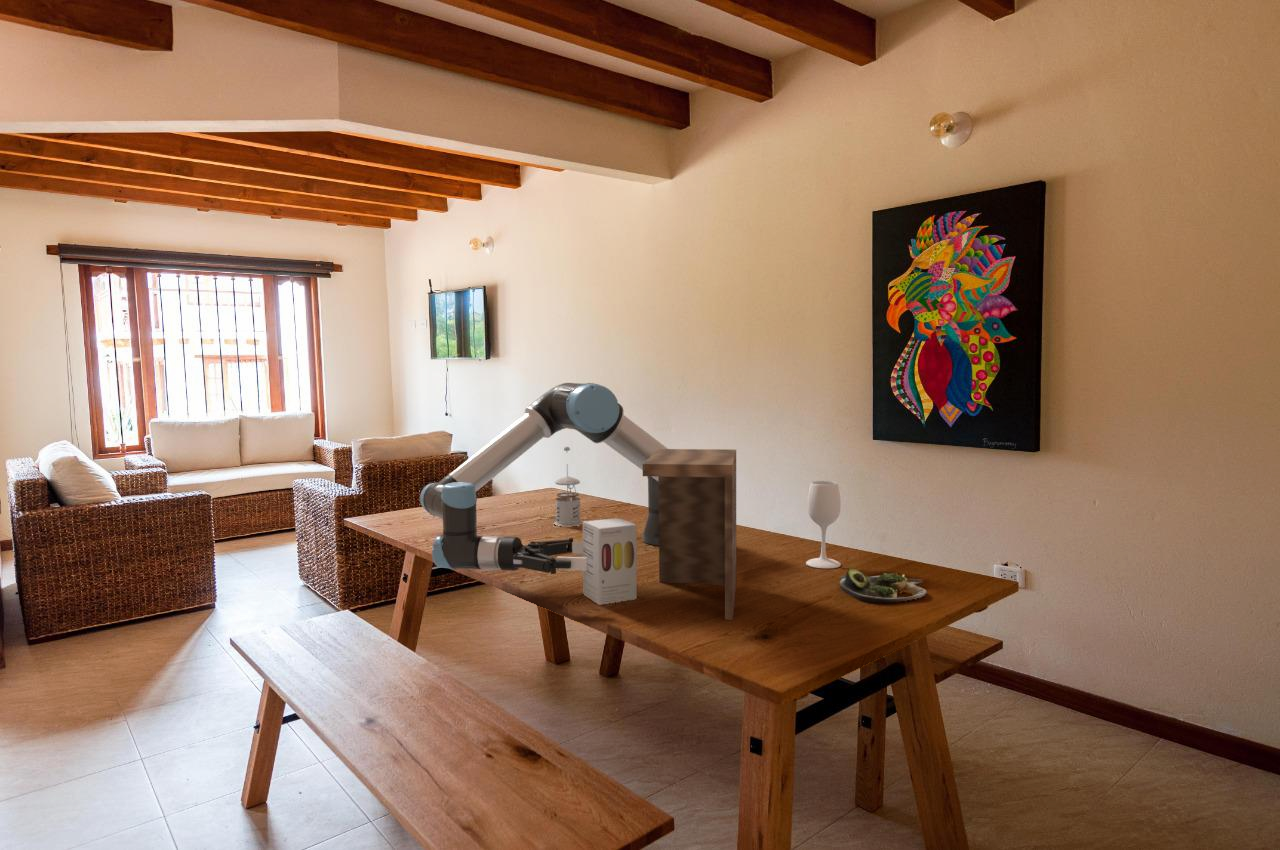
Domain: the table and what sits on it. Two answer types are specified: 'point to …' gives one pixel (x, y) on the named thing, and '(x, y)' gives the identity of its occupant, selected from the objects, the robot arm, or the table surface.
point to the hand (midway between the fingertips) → (594, 556)
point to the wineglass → (823, 516)
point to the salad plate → (879, 587)
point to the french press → (567, 502)
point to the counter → (697, 517)
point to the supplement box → (610, 560)
